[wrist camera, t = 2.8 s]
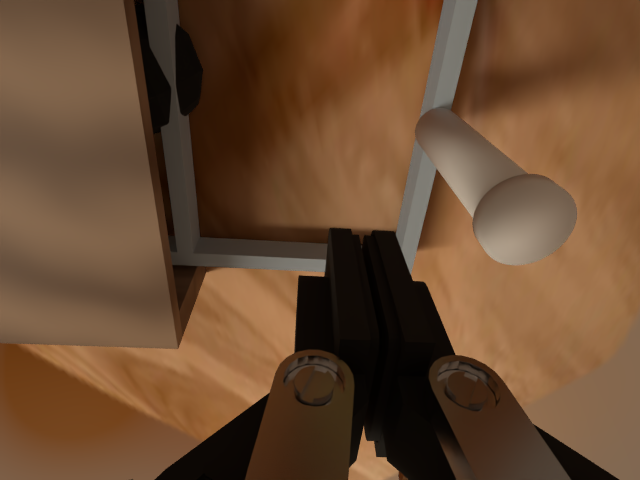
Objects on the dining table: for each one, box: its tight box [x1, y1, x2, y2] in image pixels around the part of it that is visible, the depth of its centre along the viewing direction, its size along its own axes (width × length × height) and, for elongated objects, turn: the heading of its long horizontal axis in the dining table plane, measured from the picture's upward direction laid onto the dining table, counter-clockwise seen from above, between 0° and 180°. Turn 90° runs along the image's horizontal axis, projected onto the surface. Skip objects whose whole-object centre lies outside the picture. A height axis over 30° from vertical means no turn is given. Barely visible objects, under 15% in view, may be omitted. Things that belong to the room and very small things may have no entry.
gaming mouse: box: [135, 4, 203, 134], centre depth 21 cm, size 6×15×4 cm, turn 106°
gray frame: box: [144, 0, 577, 274], centre depth 17 cm, size 20×42×13 cm, turn 86°
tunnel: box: [0, 0, 206, 349], centre depth 20 cm, size 25×11×8 cm, turn 176°
